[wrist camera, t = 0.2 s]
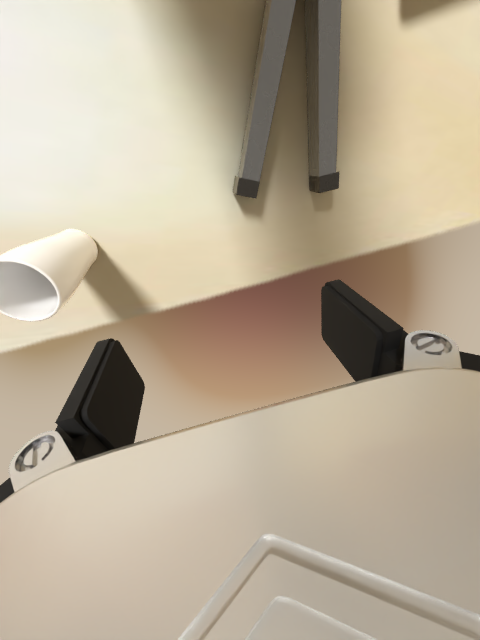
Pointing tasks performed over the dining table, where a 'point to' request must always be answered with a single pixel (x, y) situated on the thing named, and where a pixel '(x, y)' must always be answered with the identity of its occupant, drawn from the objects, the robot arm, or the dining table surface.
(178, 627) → the robot arm
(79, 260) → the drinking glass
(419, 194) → the dining table surface
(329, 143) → the tongs frame
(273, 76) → the bar
